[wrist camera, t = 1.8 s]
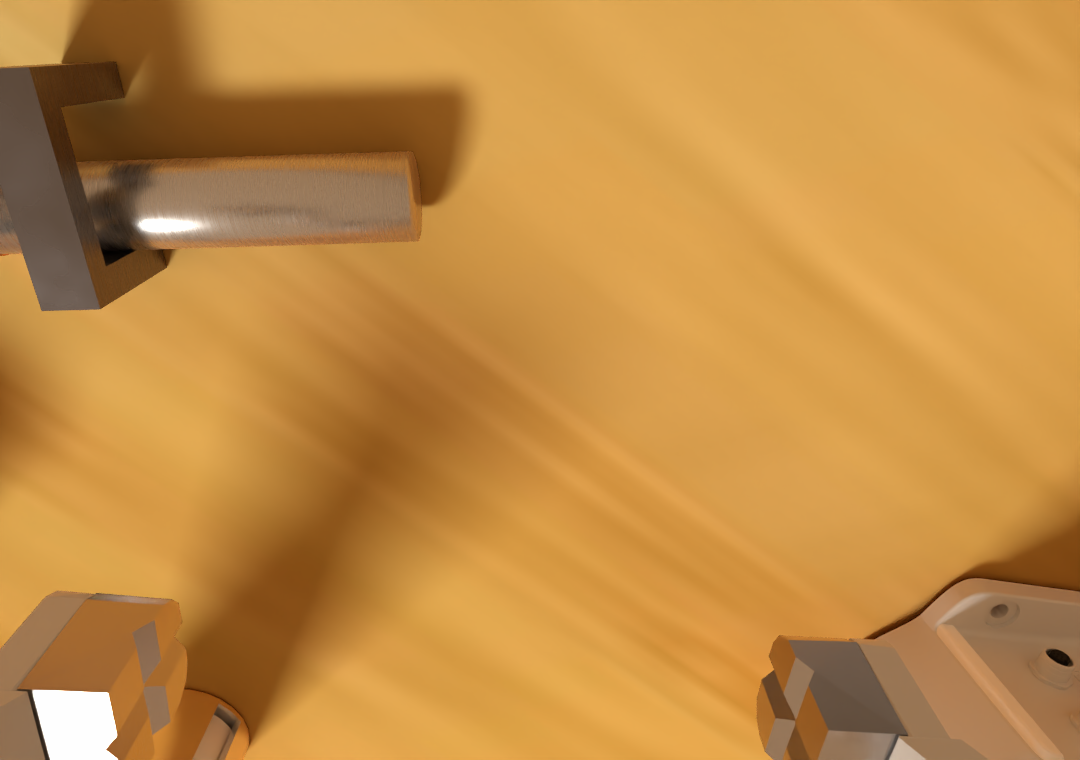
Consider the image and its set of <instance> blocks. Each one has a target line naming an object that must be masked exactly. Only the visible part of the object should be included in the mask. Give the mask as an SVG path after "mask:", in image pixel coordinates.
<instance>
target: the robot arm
mask: <svg viewBox="0 0 1080 760" xmlns="http://www.w3.org/2000/svg"><path fill="white" fill-rule="evenodd" d="M181 624H182V618H181V612H180V607H179V603H178V602H176V601H174V600H172V599H161V598H149V597H137V596H125V595H113V594H101V593H96V594H89V593H78V592H67V591H56V592H54V593H52V594H50V595H48V596H46V597H45V598H44V599H43V600H42V601H41V602H40V603H39V605H38V606H37V607H36V608H35V609H34V610H33V612H32V613H31V614H30V615H29V616H28V617H27V619H26V620H25V621H24V622H23V623H22V624H21V626H20V627H19V628H18V629H17V630H16V631H15V633H14V634H13V635H12V636H11V637H10V638H9V640H8V641H7V642H6V643H5V644H4V646H3V647H2V648H1V649H0V760H151V759H152V757H153V756H154V754H155V749H154V743H153V737H152V735H153V734H155V733H156V732H157V731H159V730H160V729H162V728H163V727H164V726H166V725H167V724H169V723H170V722H171V720H172V718H173V716H174V714H175V712H176V710H177V708H178V706H179V704H180V701H181V697H182V694H183V690H184V687H185V683H186V679H187V664H188V661H187V653H186V648H185V647H184V646H183V645H182V644H181V643H180V642H179V641H178V640H177V639H176V638H175V637H174V636H175V634H176V633H177V631H178V629H179V627H180V626H181ZM769 658H770V660H771V663H772V666H773V668H774V670H773V671H772V672H771V673H770V674H768V675H767V676H766V677H765V678H763V679H762V680H761V684H760V688H759V692H758V696H757V723H758V729H759V735H760V738H761V741H762V744H763V747H764V750H765V752H766V753H767V754H768V755H769V756H770V757H771V758H772V759H773V760H1080V592H1078V591H1071V590H1064V589H1056V588H1049V587H1042V586H1034V585H1027V584H1019V583H1012V582H1005V581H997V580H990V579H982V578H972V579H967V580H964V581H961V582H959V583H957V584H955V585H954V586H952V587H951V588H950V589H948V590H947V591H946V592H944V593H943V594H942V595H941V596H940V597H939V598H938V599H936V600H935V601H934V602H933V603H932V604H931V605H930V606H929V607H928V608H927V609H926V610H925V611H924V612H923V613H922V614H921V615H920V616H918V617H917V618H915V619H913V620H912V621H910V622H908V623H906V624H904V625H902V626H900V627H898V628H896V629H894V630H892V631H890V632H888V633H886V634H884V635H882V636H880V637H878V638H876V639H874V640H872V639H843V638H823V637H803V636H784V635H779V636H778V637H777V639H776V640H775V641H774V642H773V645H772V648H771V651H770V654H769Z"/></svg>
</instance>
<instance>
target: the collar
mask: <svg viewBox="0 0 1080 760" xmlns="http://www.w3.org/2000/svg"><path fill="white" fill-rule="evenodd" d="M119 98H124V94H123V90H122V86H121V82H120V77H119V73H118V69H117V65H116V62H98V63H65V64H45V65H28V66H10V67H0V186H1V189H2V192H3V195H4V198H5V201H6V204H7V207H8V210H9V213H10V216H11V219H12V222H13V225H14V228H15V231H16V234H17V237H18V240H19V243H20V247H21V250H22V253H23V256H24V259H25V262H26V265H27V268H28V271H29V274H30V277H31V280H32V283H33V286H34V289H35V292H36V295H37V298H38V301H39V304H40V307H41V310H42V311H54V310H90V309H101V308H103V307H105V306H106V305H108V304H109V303H111V302H113V301H114V300H116V299H117V298H119V297H121V296H122V295H124V294H125V293H127V292H129V291H130V290H132V289H133V288H135V287H136V286H138V285H140V284H141V283H143V282H144V281H146V280H148V279H149V278H151V277H152V276H154V275H156V274H157V273H159V272H160V271H162V270H164V269H165V268H167V267H166V263H165V259H164V255H163V251H162V249H155V250H123V251H101V248H100V244H99V240H98V237H97V233H96V230H95V226H94V223H93V219H92V216H91V212H90V209H89V205H88V202H87V198H86V195H85V191H84V188H83V184H82V181H81V177H80V174H79V170H78V167H77V163H76V160H75V156H74V153H73V149H72V145H71V142H70V138H69V135H68V131H67V128H66V124H65V121H64V117H63V114H62V110H61V107H65V106H72V105H79V104H85V103H92V102H99V101H106V100H112V99H119Z"/></svg>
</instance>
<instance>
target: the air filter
mask: <svg viewBox="0 0 1080 760" xmlns="http://www.w3.org/2000/svg"><path fill="white" fill-rule="evenodd" d="M152 737H153V743H154V749H155V754H154V756H153V757H152V759H151V760H243V759H244V757H245V754H246V752H247V749H248V745H249V740H250V738H249V731H248V727H247V725H246V723H245V722H244V720H243V718H242V717H241V716H240V714H239V713H238V712H237V711H236V710H235V709H234V708H233V707H232V706H230V705H229V704H227V703H226V702H224V701H223V700H221V699H219V698H217V697H215V696H212V695H210V694H207V693H204V692H200V691H195V690H191V689H184V690H183V694H182V697H181V701H180V704H179V706H178V708H177V710H176V712H175V714H174V716H173V718H172V720H171V722H170V723H169V724H167V725H166V726H164V727H163V728H162V729H160V730H159V731H157V732H156V733H155V734H153V735H152Z"/></svg>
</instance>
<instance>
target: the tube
mask: <svg viewBox="0 0 1080 760" xmlns="http://www.w3.org/2000/svg"><path fill="white" fill-rule="evenodd" d="M76 163H77V167H78V170H79V174H80V177H81V181H82V184H83V188H84V191H85V195H86V198H87V202H88V205H89V209H90V212H91V216H92V219H93V223H94V226H95V230H96V233H97V237H98V240H99V244H100V248H101V251H123V250H155V249H187V248H219V247H251V246H283V245H315V244H348V243H380V242H412V241H419V239H420V235H421V227H422V199H421V187H420V179H419V172H418V167H417V162H416V159H415V156H414V154H413V152H412V151H399V152H367V153H336V154H304V155H273V156H241V157H210V158H178V159H147V160H115V161H84V162H76ZM9 254H23V253H22V250H21V247H20V243H19V240H18V237H17V234H16V231H15V228H14V225H13V222H12V219H11V216H10V213H9V210H8V207H7V204H6V201H5V198H4V195H3V192H2V189H1V186H0V256H5V255H9Z"/></svg>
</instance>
